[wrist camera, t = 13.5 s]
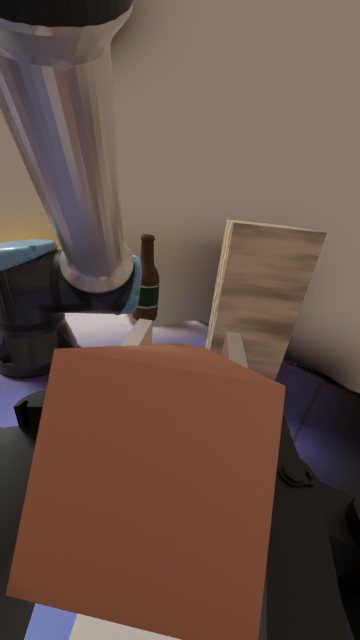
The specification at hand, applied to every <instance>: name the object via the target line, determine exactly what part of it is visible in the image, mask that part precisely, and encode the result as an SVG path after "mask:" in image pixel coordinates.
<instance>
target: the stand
mask: <svg viewBox="0 0 360 640" xmlns="http://www.w3.org/2000/svg"><path fill="white" fill-rule="evenodd" d="M326 234H327V233H324V232H319V231H313V230H307V229H301V228H295V227H289V226H282V225H273V224H264V223H255V222H246V221H237V220H227V222H226V227H225V234H224V239H223V245H222V251H221V257H220V263H219V269H218V275H217V280H216V286H215V292H214V298H213V304H212V310H211V316H210V321H209V327H208V333H207V339H206V345H205V348H207V349H209V350H211V351H213V352H215V353H217V354H219V355H221V354H222V349H223V344H224V340H225V335H226V331H228V332H235V333H241V338H242V342H243V347H244V351H245V355H246V360H247V364H248V368H249V369H251V370H253V371H255V372H257V373H259V374H261V375H263V376H265V377H267V378H270V379H272V380H274V381H275V380H276V377H277V374H278V371H279V369H280V366H281V363H282V360H283V357H284V354H285V351H286V348H287V346H288V343H289V340H290V337H291V334H292V331H293V328H294V325H295V323H296V320H297V317H298V314H299V311H300V308H301V305H302V303H303V300H304V297H305V294H306V291H307V288H308V285H309V282H310V279H311V277H312V274H313V271H314V268H315V265H316V262H317V259H318V257H319V254H320V251H321V248H322V245H323V242H324V239H325V237H326Z"/></svg>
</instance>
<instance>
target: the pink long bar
mask: <svg viewBox="0 0 360 640" xmlns="http://www.w3.org/2000/svg"><path fill="white" fill-rule="evenodd" d="M285 389H286V386H284V385H282V384H280V383H278V382H276V381H274V380H272V379H270V378H267V377H265V376H263V375H261V374H259V373H257V372H255V371H253V370H251V369H249V368H247V367H244V366H242V365H240V364H238V363H236V362H234V361H232V360H230V359H227V358H225V357H223V356H221V355H219V354H217V353H215V352H213V351H211V350H209V349H207V348H204V347H197V346H191V345H184V344H155V345H132V346H109V347H85V348H62V349H54V354H53V359H52V364H51V369H50V374H49V379H48V384H47V389H46V394H45V399H44V404H43V409H42V414H41V419H40V424H39V429H38V434H37V439H36V445H35V450H34V455H33V460H32V465H31V470H30V475H29V480H28V485H27V490H26V495H25V500H24V505H23V510H22V515H21V520H20V525H19V530H18V535H17V541H16V546H15V551H14V556H13V561H12V566H11V571H10V576H9V581H8V586H7V591H6V596H10V597H14V598H18V599H22V600H26V601H30V602H34V603H38V604H42V605H46V606H50V607H54V608H58V609H62V610H66V611H70V612H74V613H78V614H82V615H86V616H90V617H94V618H98V619H102V620H106V621H110V622H114V623H117V624H121V625H125V626H129V627H133V628H137V629H141V630H145V631H149V632H153V633H157V634H161V635H165V636H169V637H173V638H177V639H181V640H258V637H259V628H260V618H261V609H262V600H263V591H264V582H265V572H266V563H267V554H268V545H269V536H270V526H271V517H272V508H273V499H274V490H275V481H276V471H277V462H278V453H279V444H280V435H281V425H282V416H283V407H284V398H285Z"/></svg>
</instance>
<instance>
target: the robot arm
mask: <svg viewBox="0 0 360 640" xmlns="http://www.w3.org/2000/svg"><path fill="white" fill-rule="evenodd" d="M132 8H133V0H0V111H1V113H2V115H3V117H4V120H5V122H6V124H7V126H8V129H9V131H10V133H11V135H12V138H13V140H14V142H15V144H16V146H17V149H18V151H19V153H20V155H21V158H22V160H23V162H24V164H25V166H26V169H27V171H28V173H29V176H30V178H31V180H32V182H33V184H34V187H35V189H36V191H37V193H38V196H39V198H40V200H41V202H42V204H43V207H44V209H45V211H46V214H47V216H48V218H49V220H50V222H51V225H52V226H53V229H54V231H55V233H56V236H57V238H58V240H59V242H60V245H61V247H62V249H63V250H57V245H56V243H55V242H54V241H53V240H44V239H42V240H41V239H40V240H39V239H37V240H21V241H11V242H3V243H0V373H2V374H4V375H6V376H11V377H34V376H40V375H44V374H48V373H50V369H51V364H52V359H53V354H54V349H62V348H77V340H76V338H75V336H74V334H73V332H72V330H71V328H70V327H69V325H68V323H67V321H66V319H65V314H64V313H97V314H115V315H120V314H130V313H133V312H134V311H135V310H136V308H137V305H138V302H139V296H140V293H139V292H140V288H141V278H142V264H141V259H140V258H139V257H138V256H136V255H133V254H132V253H131V251H130V249H129V247H128V246H127V245H126V244H125V243H124V242H123V231H122V217H121V201H120V186H119V172H118V156H117V141H116V126H115V112H114V95H113V82H112V81H113V80H112V66H111V51H110V43H111V40H112V38H113V36H114V35H115V34H116V32H117V31H118V30H119V29H120V28H121V26H122V25H123V24H124V23H125V21H126V20H127V19H128V17H129V16H130V15H131V12H132ZM152 324H153V321H152V320H146V319H139V320H138V321H137V323H136V324H135V325H134V327H133V328H132V330H131V331H130V332H129V334H128V335H127V337H126V338H125V339H124V341H123V342H122V344H121V345H120V346H132V345H152V326H153V325H152ZM221 356H223V357H225V358H227V359H230V360H232V361H234V362H236V363H238V364H240V365H242V366H244V367H247V368H248V364H247V360H246V355H245V351H244V347H243V342H242V338H241V333H235V332H228V331H226V335H225V340H224V344H223V349H222V354H221ZM45 394H46V391H39V392H36V393H33V394H30V395H28V396H26V397H24V398H23V399H21V400H20V401H19V402H18V403H17V404H16V405H15V406H14V410H15V414H16V417H17V421H18V424H19V426H15V427H6V428H0V640H24V637H25V634H26V631H27V628H28V624H29V621H30V618H31V615H32V612H33V609H34V606H35V603H34V602H30V601H26V600H22V599H18V598H14V597H10V596H6V591H7V586H8V581H9V576H10V571H11V566H12V561H13V556H14V551H15V546H16V541H17V535H18V530H19V525H20V520H21V515H22V510H23V505H24V500H25V495H26V490H27V485H28V480H29V475H30V470H31V465H32V460H33V455H34V450H35V445H36V439H37V434H38V429H39V424H40V419H41V414H42V409H43V404H44V399H45ZM258 640H360V491H359V492H358V493H357V494H356V495H355V496H354V497H351V496H349V495H347V494H345V493H343V492H341V491H338V490H336V489H334V488H332V487H330V486H328V485H326V484H325V483H323V482H321V481H320V480H318V479H317V478H316V476H315V474H314V473H313V471H312V470H311V469H310V467H309V466H308V465H307V464H306V463H305V462H303V461H302V460H301V459H300V458H299V456H298V454H297V451H296V448H295V445H294V442H293V439H292V437H291V434H290V431H289V428H288V425H287V422H286V420H285V417H284V414H283V416H282V425H281V435H280V444H279V453H278V462H277V471H276V481H275V490H274V499H273V508H272V517H271V526H270V536H269V545H268V554H267V563H266V572H265V582H264V591H263V600H262V609H261V618H260V628H259V637H258Z"/></svg>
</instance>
